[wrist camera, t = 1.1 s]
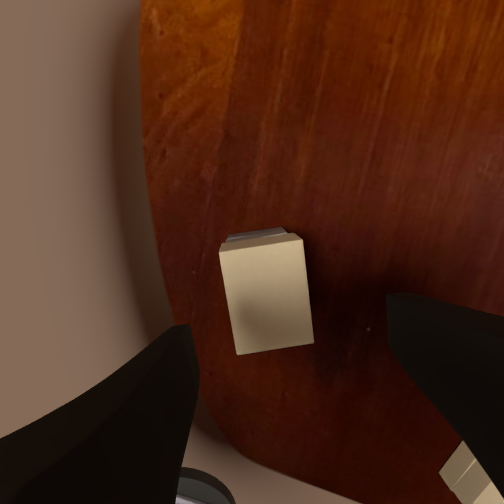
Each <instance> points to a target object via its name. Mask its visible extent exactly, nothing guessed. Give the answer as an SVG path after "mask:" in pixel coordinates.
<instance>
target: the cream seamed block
mask: <svg viewBox="0 0 504 504" xmlns="http://www.w3.org/2000/svg"><path fill="white" fill-rule="evenodd" d="M439 474H440V476H441V477H442V478H443V480H444V481H445V483H446V484H447V485H448V487H449V488H450V490H451V491H453V492H454V493H455V494H456V496H457V497H458V499H459V500H460V501H461V503H462V504H504V499H503V497H502V496H501V494H500V493H499V491H498V490H497V488H496V487H495V485H494V484H493V482H492V481H491V480H490V478H489V477H488V475H487V474H486V472H485V471H484V469H483V468H482V467H481V465H480V464H479V462H478V461H477V460H476V458H475V457H474V455H473V454H472V452H471V451H470V450H469V448H468V447H467V445H466V444H465V443H464V441H462V442H461V443H460V445H459V446H458V447H457V449H456V450H455V451H454V453H453V454H452V455H451V456H450V458H449V459H448V460H447V462H446V463H445V464H444V466H443V467H442V468H441V470H440V471H439Z"/></svg>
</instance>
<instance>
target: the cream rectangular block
mask: <svg viewBox="0 0 504 504" xmlns="http://www.w3.org/2000/svg"><path fill="white" fill-rule="evenodd" d="M219 257H220V263H221V269H222V274H223V280H224V285H225V291H226V297H227V302H228V308H229V314H230V319H231V325H232V330H233V336H234V342H235V347H236V353H237V355H241V354H248V353H254V352H260V351H266V350H273V349H279V348H285V347H292V346H298V345H304V344H311V343H314V338H313V328H312V319H311V310H310V301H309V292H308V283H307V273H306V264H305V255H304V246H303V240H302V239H301V238H300V237H299V236H297V235H296V234H295V233H288V234H282V235H275V236H269V237H262V238H256V239H249V240H242V241H236V242H229V243H223V244H221V247H220V251H219Z"/></svg>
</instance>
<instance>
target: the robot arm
mask: <svg viewBox="0 0 504 504" xmlns="http://www.w3.org/2000/svg"><path fill="white" fill-rule="evenodd" d="M386 303H387V340H388V346H389V347H390V349H391V351H392V352H393V354H394V356H395V357H396V359H397V360H398V362H399V363H400V365H401V366H402V368H403V369H404V370H405V371H406V373H407V374H408V375H409V376H410V378H411V379H412V380H413V381H414V382H415V384H416V385H417V386H418V387H419V388H420V389H421V391H422V392H423V393H424V394H425V395H426V396H427V398H428V399H429V400H430V401H431V402H432V404H433V405H434V406H435V407H436V408H437V409H438V411H439V412H440V413H441V414H442V415H443V416H444V418H445V419H446V420H447V421H448V422H449V423H450V425H451V426H452V427H453V428H454V430H455V431H456V432H457V433H458V435H459V436H460V437H461V439H462V440H463V441H464V443H465V444H466V445H467V447H468V448H469V450H470V451H471V452H472V454H473V455H474V457H475V458H476V460H477V461H478V462H479V464H480V465H481V467H482V468H483V469H484V471H485V472H486V474H487V475H488V477H489V478H490V480H491V481H492V482H493V484H494V485H495V487H496V488H497V490H498V491H499V493H500V494H501V496H502V497H503V499H504V317H503V316H499V315H495V314H490V313H486V312H482V311H478V310H474V309H470V308H467V307H463V306H459V305H455V304H452V303H448V302H444V301H441V300H437V299H433V298H430V297H426V296H422V295H418V294H413V293H408V292H399V293H392V294H386ZM199 378H200V370H199V365H198V361H197V356H196V352H195V347H194V343H193V338H192V333H191V329H190V324H184V325H177V326H172V327H171V328H169V329H168V330H166V331H165V332H164V333H163V334H161V335H160V336H159V337H158V338H157V339H155V340H154V341H153V342H152V343H151V344H149V345H148V346H147V347H146V348H145V349H143V350H142V351H141V352H140V353H138V354H137V355H136V356H135V357H134V358H132V359H131V360H130V361H128V362H127V363H126V364H124V365H123V366H122V367H121V368H119V369H118V370H116V371H115V372H114V373H113V374H111V375H110V376H108V377H107V378H106V379H104V380H103V381H101V382H100V383H98V384H97V385H95V386H94V387H92V388H91V389H89V390H88V391H86V392H85V393H83V394H81V395H80V396H78V397H77V398H75V399H74V400H72V401H70V402H69V403H66V404H65V405H63V406H61V407H60V408H58V409H56V410H54V411H52V412H50V413H49V414H47V415H45V416H43V417H42V418H40V419H38V420H36V421H34V422H32V423H30V424H29V425H27V426H25V427H23V428H21V429H19V430H17V431H15V432H13V433H11V434H9V435H7V436H5V437H2V438H0V504H207V503H204V502H201V501H198V500H195V499H192V498H189V497H186V496H183V495H180V494H177V488H178V481H179V476H180V471H181V466H182V462H183V458H184V453H185V449H186V444H187V441H188V436H189V432H190V428H191V424H192V419H193V416H194V411H195V407H196V402H197V397H198V389H199Z"/></svg>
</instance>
